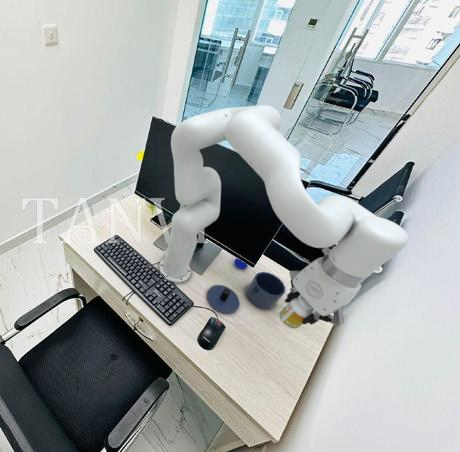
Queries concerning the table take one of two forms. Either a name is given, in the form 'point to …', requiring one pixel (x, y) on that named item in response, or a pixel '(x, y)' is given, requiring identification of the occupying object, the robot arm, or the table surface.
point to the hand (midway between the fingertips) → (298, 310)
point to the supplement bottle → (295, 312)
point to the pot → (265, 290)
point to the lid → (223, 299)
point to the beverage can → (240, 264)
